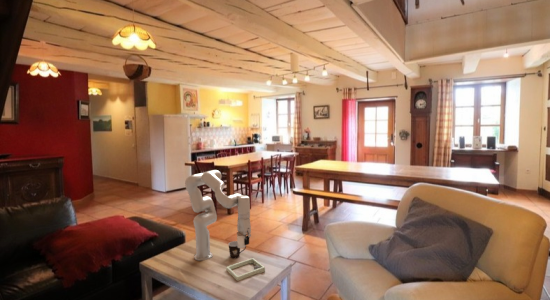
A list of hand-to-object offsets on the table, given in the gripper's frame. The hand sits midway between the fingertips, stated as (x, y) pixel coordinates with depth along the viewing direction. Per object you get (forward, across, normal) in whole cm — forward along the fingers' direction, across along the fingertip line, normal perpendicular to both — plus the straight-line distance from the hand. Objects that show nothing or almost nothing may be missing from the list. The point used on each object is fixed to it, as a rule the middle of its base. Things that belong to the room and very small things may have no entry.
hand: (244, 242), depth 180 cm
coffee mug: (+20, -20, +4) cm, 28 cm away
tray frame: (+19, 0, 0) cm, 19 cm away
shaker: (+2, 0, -2) cm, 3 cm away
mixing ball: (+19, +4, +6) cm, 21 cm away
